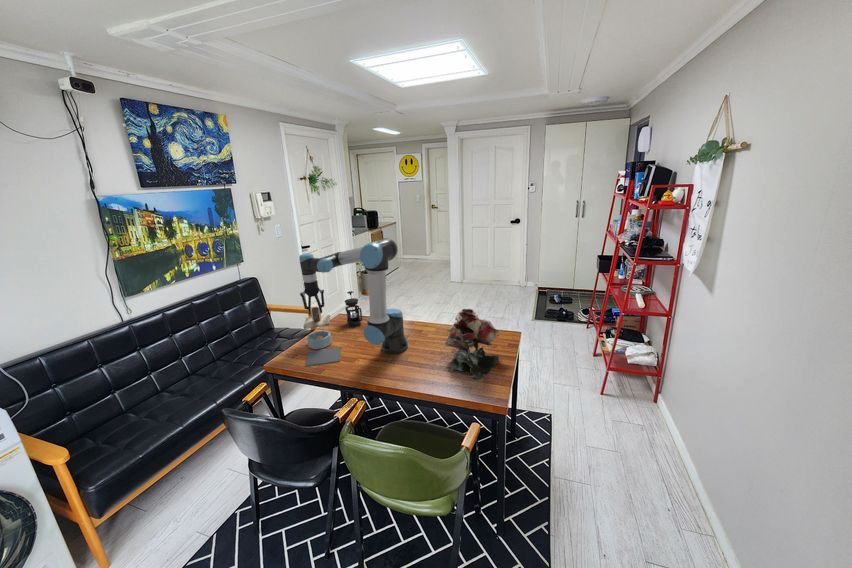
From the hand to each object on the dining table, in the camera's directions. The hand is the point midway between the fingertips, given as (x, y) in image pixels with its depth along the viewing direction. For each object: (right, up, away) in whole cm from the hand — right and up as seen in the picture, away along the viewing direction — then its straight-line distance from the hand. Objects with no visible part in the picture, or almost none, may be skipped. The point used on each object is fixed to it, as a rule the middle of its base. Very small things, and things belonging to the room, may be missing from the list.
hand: (316, 318), depth 208 cm
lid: (0, -3, +1) cm, 3 cm away
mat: (+7, -20, -10) cm, 24 cm away
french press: (+16, -7, +32) cm, 36 cm away
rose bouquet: (+87, -20, -23) cm, 92 cm away
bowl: (+1, -16, +5) cm, 17 cm away
